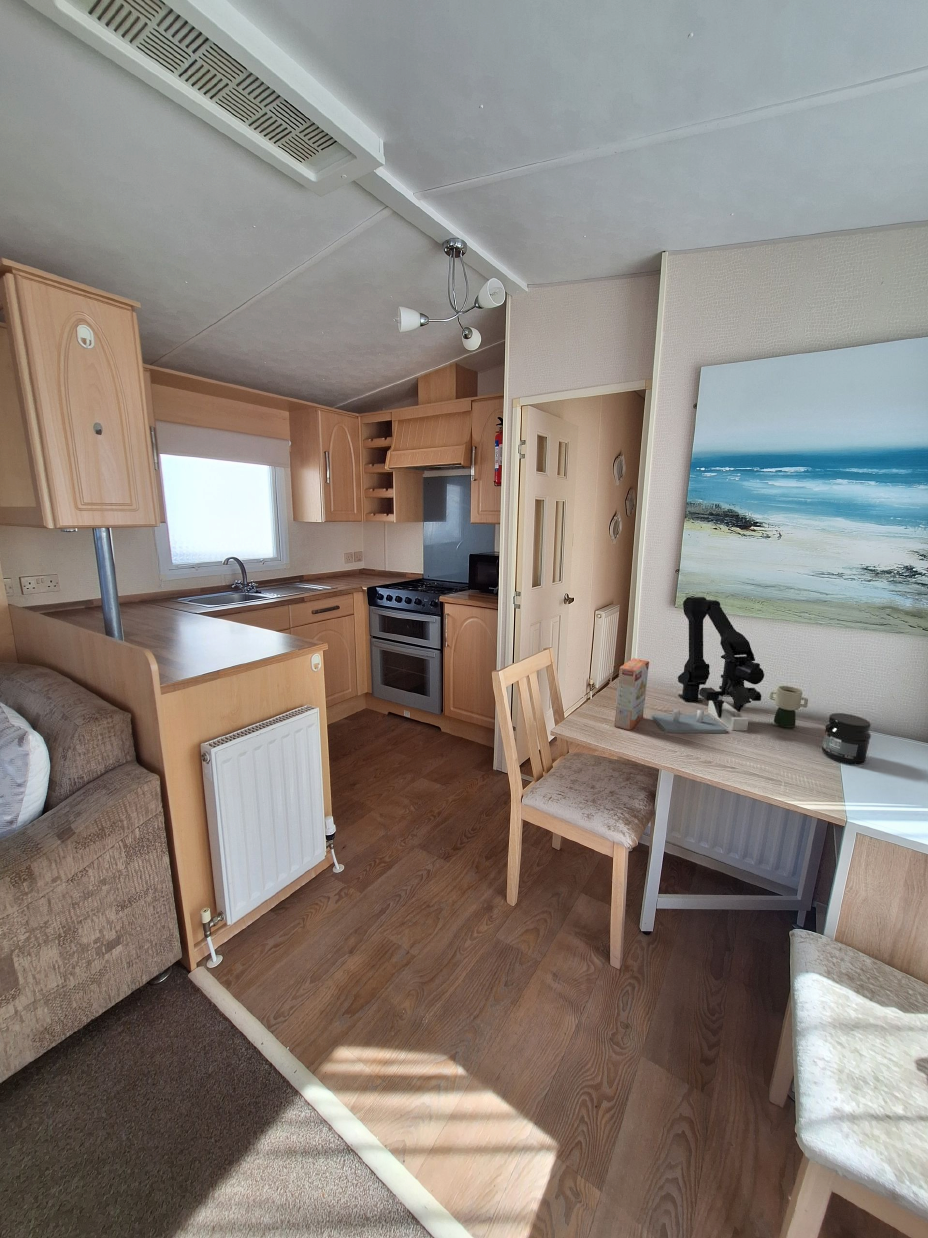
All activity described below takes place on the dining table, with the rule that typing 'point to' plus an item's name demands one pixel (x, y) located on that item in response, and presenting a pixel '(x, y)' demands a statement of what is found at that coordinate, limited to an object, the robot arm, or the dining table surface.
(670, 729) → the stud board
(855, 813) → the dining table surface
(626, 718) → the cracker box
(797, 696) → the character mug
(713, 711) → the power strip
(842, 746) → the supplement container
